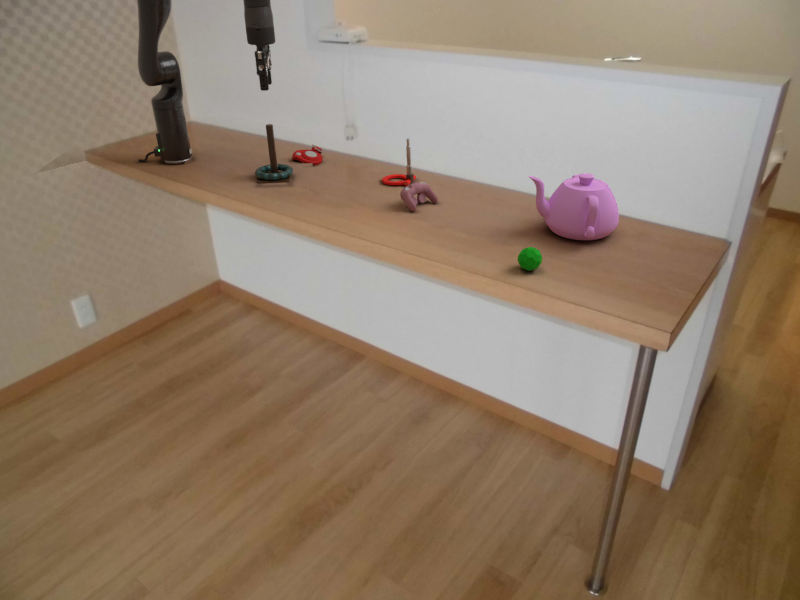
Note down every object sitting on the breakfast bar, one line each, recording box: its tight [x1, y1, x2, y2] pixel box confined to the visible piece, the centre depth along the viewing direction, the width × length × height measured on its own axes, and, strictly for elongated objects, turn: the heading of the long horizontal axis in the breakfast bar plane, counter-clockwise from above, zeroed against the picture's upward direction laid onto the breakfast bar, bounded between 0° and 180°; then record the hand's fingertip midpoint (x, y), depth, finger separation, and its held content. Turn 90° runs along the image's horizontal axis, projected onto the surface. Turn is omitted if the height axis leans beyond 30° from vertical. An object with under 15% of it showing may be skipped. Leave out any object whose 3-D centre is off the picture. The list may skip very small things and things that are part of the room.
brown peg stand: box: [257, 123, 292, 185], centre depth 178 cm, size 9×9×16 cm
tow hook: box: [381, 138, 417, 187], centre depth 177 cm, size 8×13×9 cm
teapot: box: [528, 172, 620, 241], centre depth 144 cm, size 22×22×14 cm
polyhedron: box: [517, 246, 543, 272], centre depth 129 cm, size 5×5×5 cm
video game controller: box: [399, 181, 439, 213], centre depth 162 cm, size 10×5×7 cm, turn 134°
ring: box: [254, 163, 294, 180], centre depth 182 cm, size 11×11×2 cm
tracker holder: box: [291, 144, 324, 166], centre depth 199 cm, size 12×4×10 cm
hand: (266, 87), depth 174 cm, fingers open, 8 cm apart
